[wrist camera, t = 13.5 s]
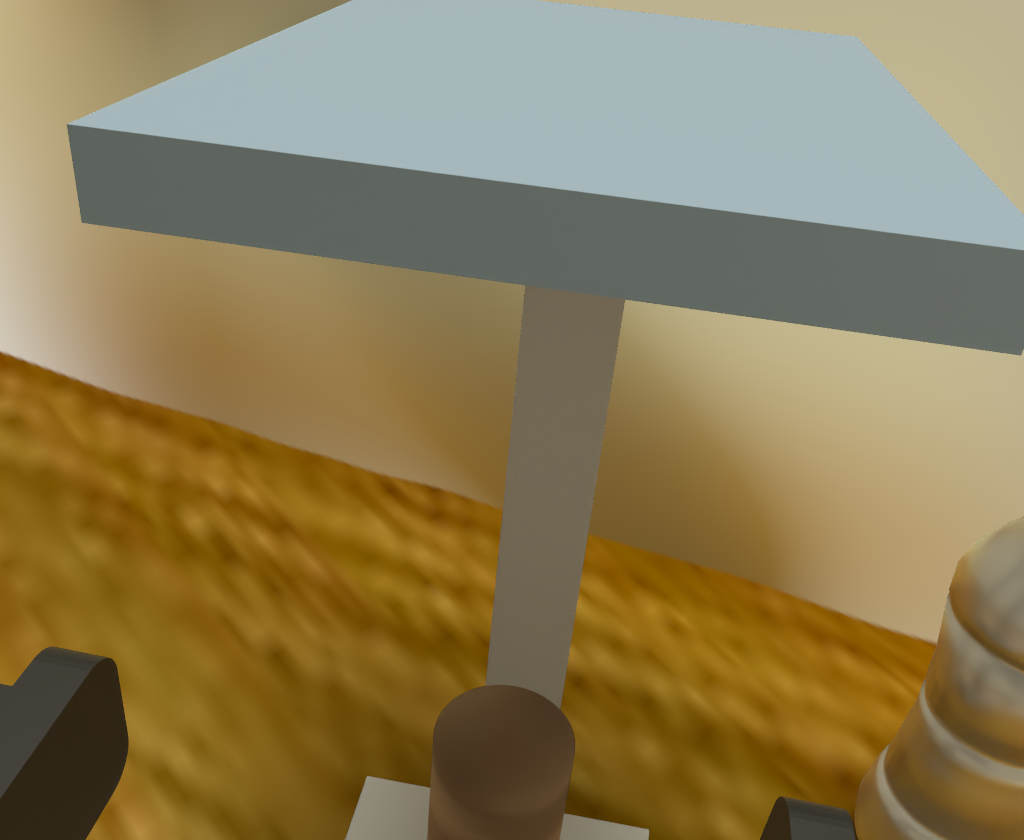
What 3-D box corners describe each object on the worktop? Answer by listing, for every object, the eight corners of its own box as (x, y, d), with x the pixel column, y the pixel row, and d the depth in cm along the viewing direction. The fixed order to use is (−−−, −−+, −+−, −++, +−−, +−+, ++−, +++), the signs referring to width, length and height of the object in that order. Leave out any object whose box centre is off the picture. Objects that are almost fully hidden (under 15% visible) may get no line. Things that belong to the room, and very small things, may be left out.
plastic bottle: (869, 772, 45) (1024, 401, 34) (1022, 857, 41) (1244, 475, 31) (818, 870, 40) (979, 476, 30) (986, 974, 37) (1232, 572, 27)
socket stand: (665, 1237, 29) (1061, 255, 13) (221, 1136, 30) (66, 124, 14) (672, 759, 44) (856, 36, 28) (377, 705, 46) (390, -16, 29)
